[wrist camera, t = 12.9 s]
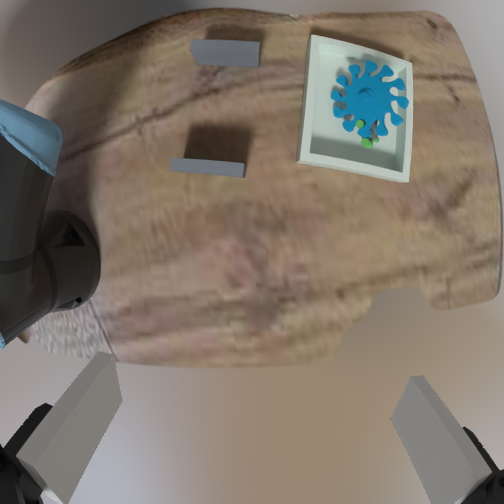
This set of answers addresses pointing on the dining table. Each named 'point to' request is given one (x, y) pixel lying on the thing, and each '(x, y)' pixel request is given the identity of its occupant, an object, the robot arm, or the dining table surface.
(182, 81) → the dining table surface
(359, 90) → the gear
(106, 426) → the robot arm
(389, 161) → the parts tray
